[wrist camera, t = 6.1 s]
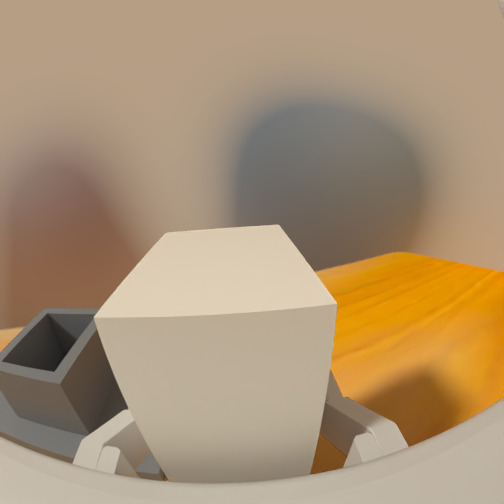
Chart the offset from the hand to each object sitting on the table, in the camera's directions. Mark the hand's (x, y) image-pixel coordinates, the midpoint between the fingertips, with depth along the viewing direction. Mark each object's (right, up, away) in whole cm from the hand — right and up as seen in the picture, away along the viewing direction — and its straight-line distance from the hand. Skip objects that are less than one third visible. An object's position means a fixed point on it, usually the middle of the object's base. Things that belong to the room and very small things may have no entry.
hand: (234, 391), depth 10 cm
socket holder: (-14, -7, +9) cm, 18 cm away
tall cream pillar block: (0, -8, +2) cm, 8 cm away
